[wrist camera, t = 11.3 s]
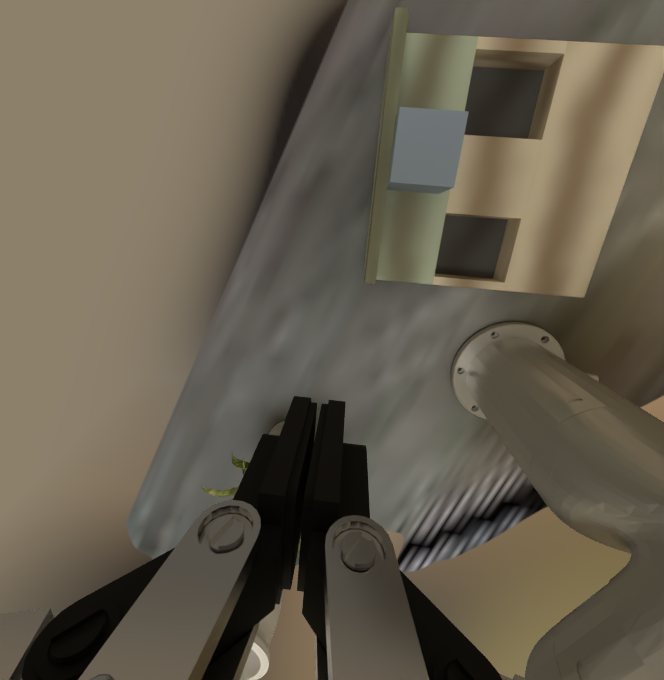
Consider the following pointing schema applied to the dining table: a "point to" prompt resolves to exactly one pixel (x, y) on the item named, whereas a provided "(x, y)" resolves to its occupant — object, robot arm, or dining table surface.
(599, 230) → the board
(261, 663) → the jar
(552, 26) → the dining table surface
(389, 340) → the dining table surface
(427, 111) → the block
